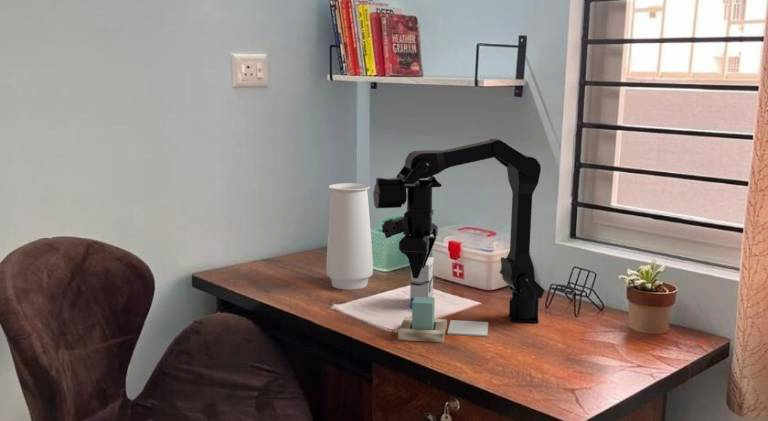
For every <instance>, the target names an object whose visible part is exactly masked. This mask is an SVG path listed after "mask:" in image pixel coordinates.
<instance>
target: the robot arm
mask: <svg viewBox="0 0 768 421" xmlns="http://www.w3.org/2000/svg"><path fill="white" fill-rule="evenodd" d="M493 158H494V159H495V160H497V161H498V162H499V164H501V165H502V166H504V167H505V168H506V172H507V179H508V183H509V185H510V189H511V191H512V194H511V195H512V198H511V219H510V237H509V238H510V242H509V244H510V245H509V251H508V253H507V256H506V257H502V256H501V257H500V265H501V267H500V271H499V273H500V275H502V276H501V277H502V280H503V281H504V282H505V283H506V285H508V288H509V290H510V291H512V294H511V296H510V297H509V304H508V305H509V308H508V309H509V310H508V316H509V318H510V321H511V322H517V323H518V322H519V323H539V302H540V301H539V300H540V299H542V298H543V296H544V293H545V289H544V288H543V287H542V286H541V285H540V284H539V283H538V282H537V281H536V277H535V276H536V275H535V268H534V264H533V260H532V257H531V254H530V249H531V248H530V246H531V229H532V212H533V211H532V208H533V195H534V192H535V190H536V188H537V186H538V184H539V181H540V177H541V170H542V166H541V163H540V161H539V160H537V159H536V158H535V157H532V156H529V155H525V154H523V153H522V152H520V151H518V150H517V149H515V148H513V147H512V146H511V145H508V144H507V143H506V142H505V141H504V140H503V139H498V138H489V140H485V141H480V142H475V143H472V144H466V145H461V146H457V147H453V148H447V149H442V150H439V149H438V150H434V149H432V150H431V149H428V150H413V151H410V152H409V153H408V154H407V156H406V158H405V161H404V166H402V168H401V170H400V171H399V172H398V173H397V175H396V176H395V177H392V178H384V177H377V178H375V185H374V187H373V188H374V189H373V193H372V194H373V196H372V197H373V204H374V207H375V209H393V208H395V209H397V208H402V207H403V205H405V203H406V211H405V212H404V213H403V216H400V217H397V218H394V219H393V218H389V219H388V220H387V219H386V220H384V222H383V223H382V224H381V228H382V229H381V232H382V233H383V234H384V236H385V239H389V238H392V236H395V235H399V234H402V233H403V237H402V238H401V239H400V240H399V241H398V251H400V253H402V254H404V255H405V256H406V257H407V259H408V263H409V266H410V272H411V271H412V275H413V278H418V277H419V274H420V272H421V269H422V268H424V267H425V265H426V262H427V260H428V257H430V255H431V253H432V250H433V247H434V245H435V242H436V240H437V236H438V232H439V231H438V226H437V225H436V224H435V223H433V215H434V209H433V188H441V187H442V186H443V185H442V183H440V181H438V180H437V178H436V177H435V175H438V174H440V173H442V172H443V171H445V170H447V169H449V168H451V167H456V166H461V165H465V164H470V163H475V162H479V161H484V160H488V159H493ZM431 235H433V236H431Z"/></svg>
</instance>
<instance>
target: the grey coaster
mask: <svg viewBox="0 0 768 421" xmlns="http://www.w3.org/2000/svg"><path fill="white" fill-rule="evenodd" d="M449 321H450V322H449V325H448V327H447V329H448V330H447V331H446V332H447V334H446V335H451V336H452V335H454V336H469V337H485V338H486V337H488V332H489V322H488V321H473V320H472V321H471V320H456V319H454V320H453V319H450V320H449Z"/></svg>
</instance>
